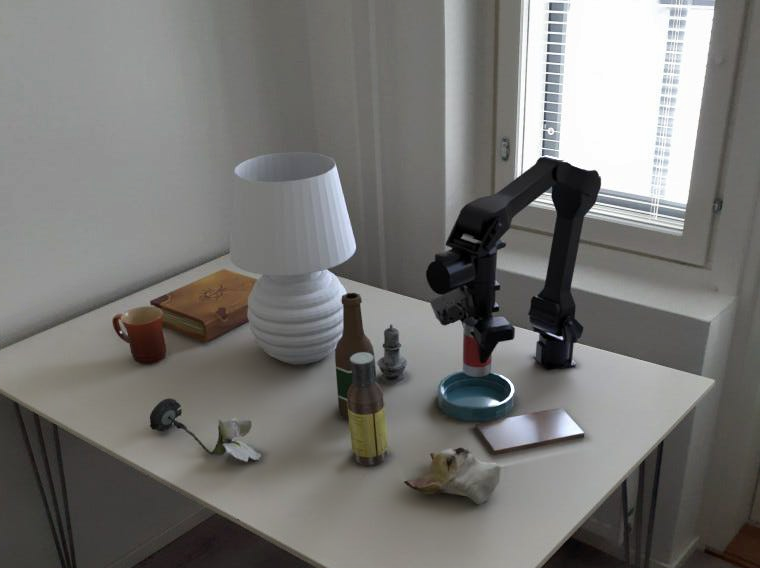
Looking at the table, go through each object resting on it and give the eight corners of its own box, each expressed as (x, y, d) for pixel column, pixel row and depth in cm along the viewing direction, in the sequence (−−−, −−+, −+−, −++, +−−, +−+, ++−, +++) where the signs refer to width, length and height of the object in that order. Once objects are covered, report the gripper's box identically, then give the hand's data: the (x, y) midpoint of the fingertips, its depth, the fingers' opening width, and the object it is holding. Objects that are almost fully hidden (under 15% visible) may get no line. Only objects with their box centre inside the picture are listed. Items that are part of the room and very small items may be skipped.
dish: (495, 378, 171) (496, 364, 170) (525, 415, 160) (526, 400, 158) (427, 391, 169) (427, 377, 167) (453, 429, 157) (453, 414, 155)
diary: (208, 344, 190) (204, 321, 187) (154, 323, 201) (149, 301, 197) (280, 307, 205) (278, 285, 202) (226, 289, 215) (223, 268, 212)
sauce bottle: (379, 443, 154) (375, 344, 144) (393, 461, 149) (389, 360, 139) (345, 452, 152) (338, 352, 142) (358, 471, 147) (352, 369, 137)
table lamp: (385, 345, 186) (378, 159, 165) (305, 395, 170) (286, 196, 149) (300, 316, 200) (283, 141, 179) (218, 359, 184) (190, 173, 163)
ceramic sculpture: (485, 476, 130) (399, 454, 137) (486, 522, 134) (402, 498, 141) (513, 441, 137) (430, 422, 145) (514, 486, 141) (433, 465, 149)
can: (484, 361, 163) (486, 313, 158) (495, 374, 158) (497, 325, 153) (458, 365, 162) (459, 317, 156) (468, 379, 157) (469, 329, 152)
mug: (178, 351, 188) (170, 308, 183) (156, 370, 181) (147, 326, 176) (132, 344, 192) (123, 302, 187) (109, 362, 185) (99, 319, 180)
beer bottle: (383, 403, 166) (379, 288, 153) (371, 425, 159) (365, 307, 147) (345, 398, 168) (338, 284, 155) (331, 419, 162) (322, 302, 149)
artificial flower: (183, 422, 166) (190, 375, 162) (263, 476, 154) (273, 427, 150) (145, 431, 159) (152, 383, 155) (226, 489, 147) (235, 438, 143)
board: (560, 412, 160) (561, 407, 159) (584, 438, 152) (584, 432, 152) (474, 429, 157) (475, 423, 156) (494, 456, 149) (494, 450, 148)
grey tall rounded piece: (405, 386, 171) (403, 331, 164) (375, 384, 172) (373, 330, 166) (409, 371, 176) (408, 318, 169) (381, 369, 177) (378, 317, 170)
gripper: (418, 263, 156) (419, 340, 165) (455, 305, 141) (453, 387, 149) (476, 255, 159) (474, 331, 167) (518, 294, 143) (513, 376, 151)
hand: (477, 355), depth 159 cm, fingers closed on can, 5 cm apart
